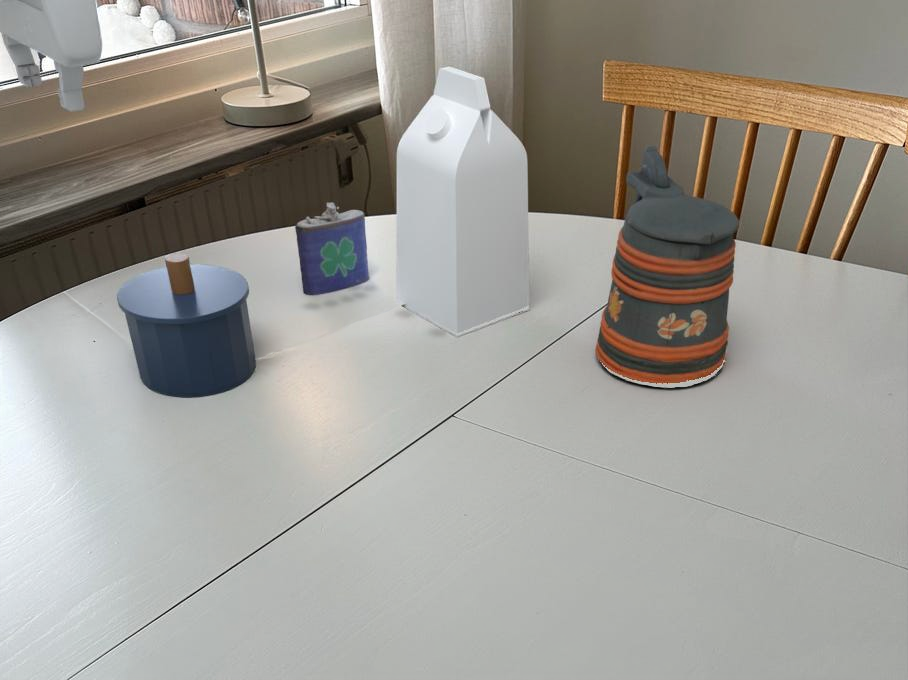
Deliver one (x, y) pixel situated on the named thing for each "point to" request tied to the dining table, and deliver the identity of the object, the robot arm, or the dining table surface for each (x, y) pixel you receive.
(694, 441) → the dining table surface
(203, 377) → the pot
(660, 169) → the beer stein
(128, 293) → the pot lid
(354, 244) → the flask
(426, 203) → the milk
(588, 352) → the dining table surface
